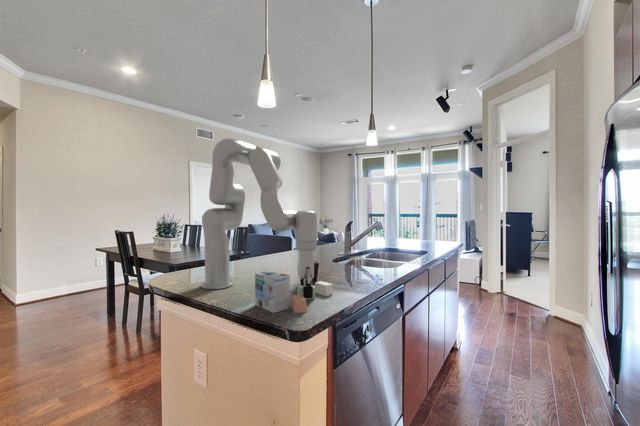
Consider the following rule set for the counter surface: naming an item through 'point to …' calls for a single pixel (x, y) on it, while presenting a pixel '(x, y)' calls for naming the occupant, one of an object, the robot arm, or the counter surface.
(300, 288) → the brick sage
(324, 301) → the counter surface
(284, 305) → the light bulb box
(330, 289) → the brick cream
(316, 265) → the coffee mug
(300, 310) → the brick terracotta
